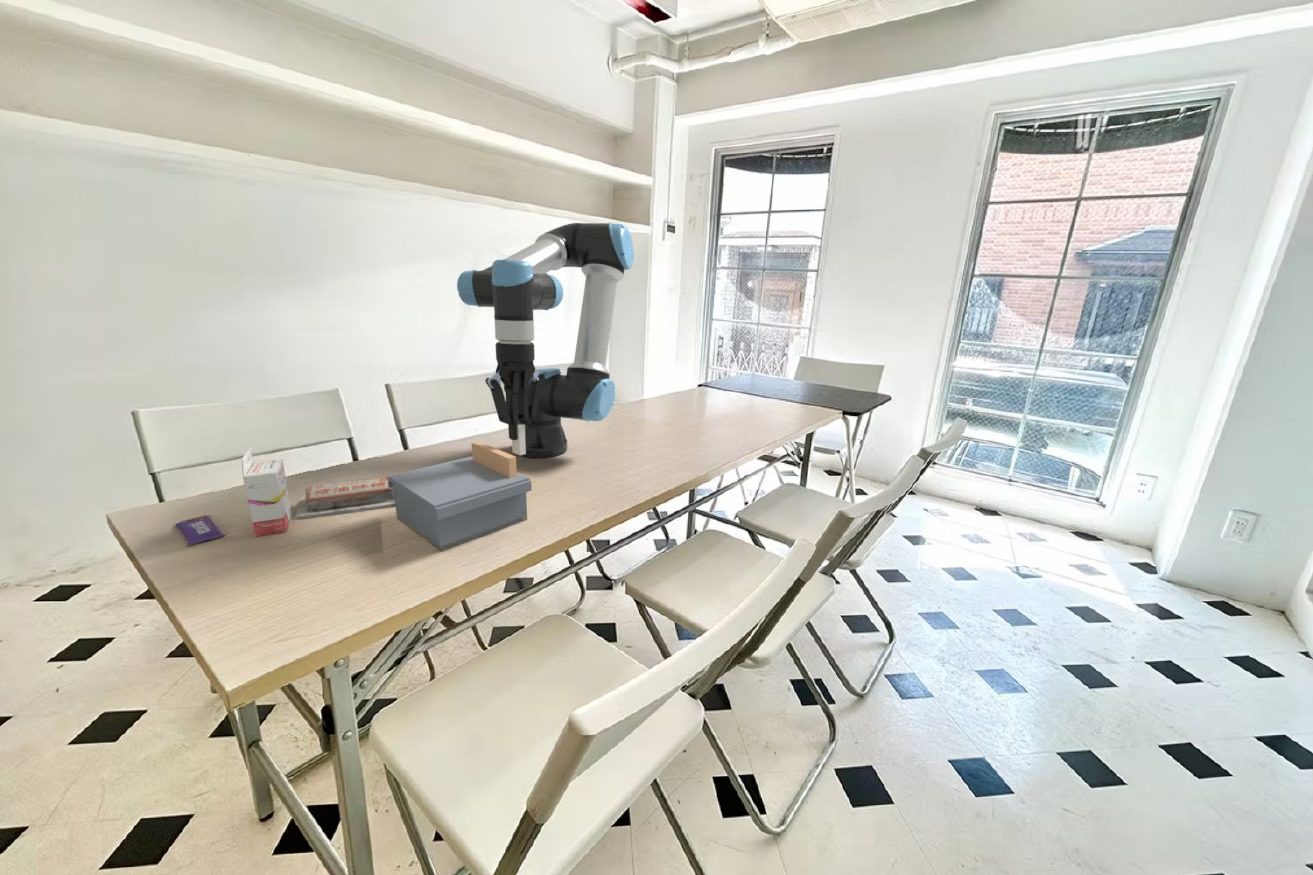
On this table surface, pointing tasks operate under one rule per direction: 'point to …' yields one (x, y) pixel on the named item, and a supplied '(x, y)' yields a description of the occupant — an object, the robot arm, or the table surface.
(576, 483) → the table surface
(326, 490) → the packaged product
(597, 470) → the table surface
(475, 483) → the lid
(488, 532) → the open gray box
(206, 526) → the snack package
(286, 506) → the ink cartridge box
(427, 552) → the table surface
